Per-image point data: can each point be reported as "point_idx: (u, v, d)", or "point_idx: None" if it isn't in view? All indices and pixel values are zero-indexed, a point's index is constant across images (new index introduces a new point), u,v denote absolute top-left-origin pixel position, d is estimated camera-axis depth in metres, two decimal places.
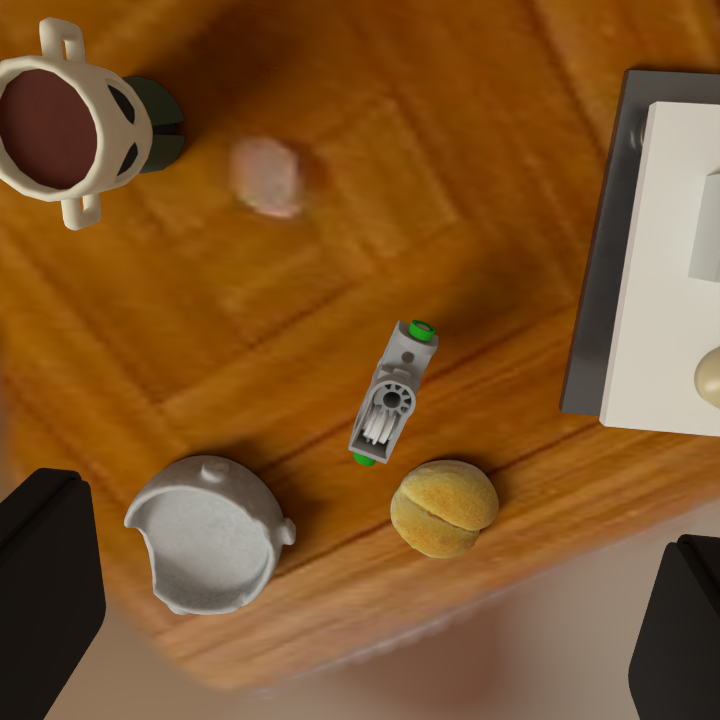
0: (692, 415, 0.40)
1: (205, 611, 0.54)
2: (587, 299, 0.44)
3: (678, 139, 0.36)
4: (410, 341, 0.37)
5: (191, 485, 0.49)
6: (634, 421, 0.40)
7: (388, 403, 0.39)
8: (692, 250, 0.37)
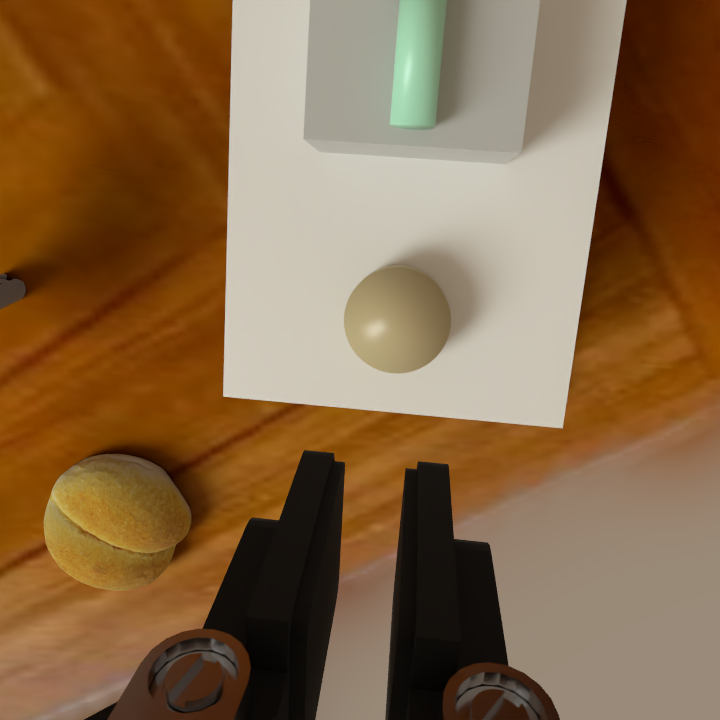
0: (352, 379, 0.25)
1: None
2: None
3: None
4: None
5: None
6: (266, 389, 0.25)
7: None
8: None
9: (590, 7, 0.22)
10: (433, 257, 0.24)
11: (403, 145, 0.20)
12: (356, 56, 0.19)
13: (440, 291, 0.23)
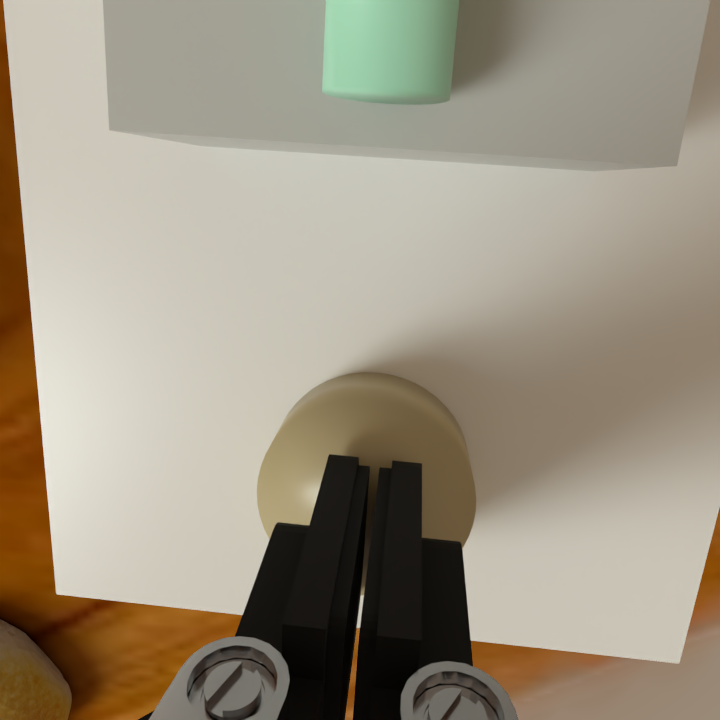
0: None
1: None
2: None
3: None
4: None
5: None
6: (132, 584, 0.14)
7: None
8: None
9: None
10: (439, 359, 0.12)
11: (365, 146, 0.08)
12: None
13: (455, 447, 0.11)
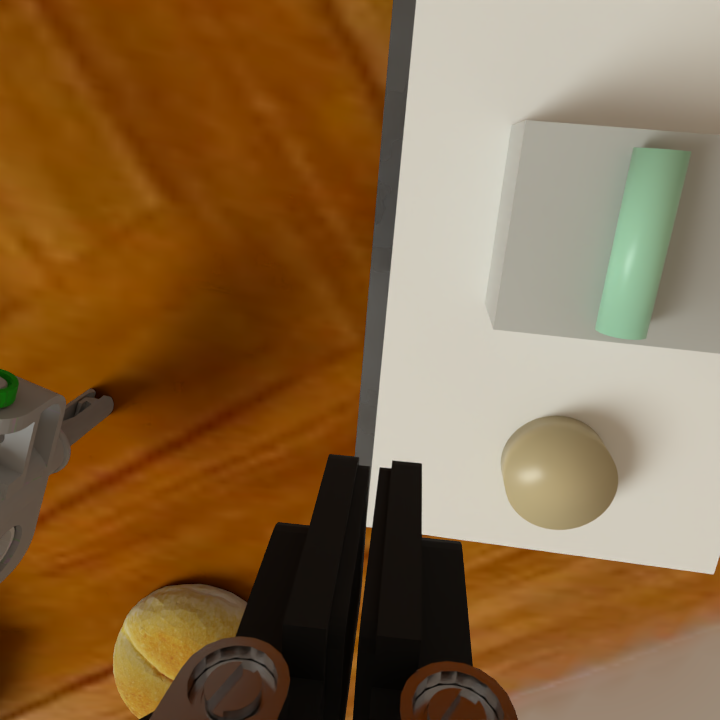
0: (499, 518, 0.25)
1: None
2: (370, 339, 0.27)
3: (460, 55, 0.20)
4: None
5: None
6: None
7: None
8: (492, 259, 0.22)
9: None
10: (597, 410, 0.23)
11: (601, 339, 0.19)
12: (560, 250, 0.18)
13: (610, 457, 0.22)
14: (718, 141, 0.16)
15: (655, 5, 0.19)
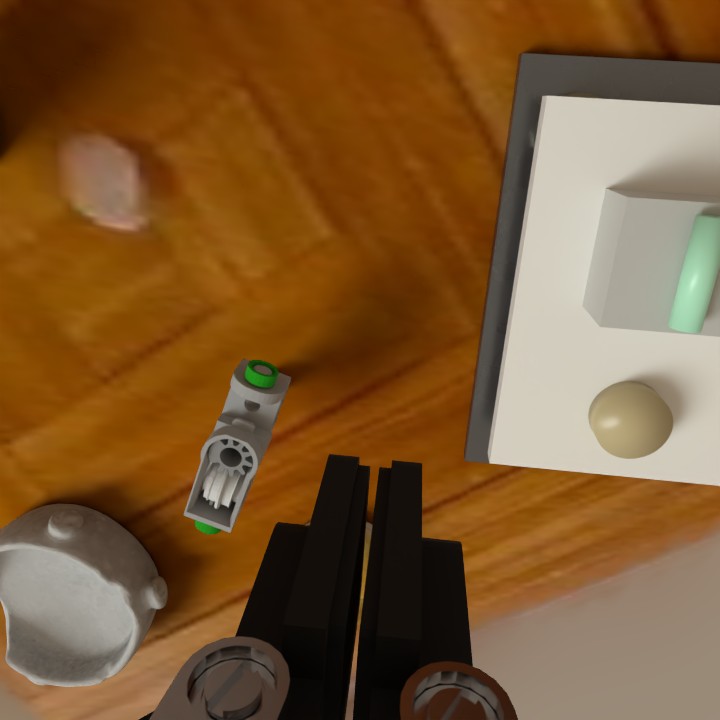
0: (586, 453, 0.35)
1: (65, 683, 0.47)
2: (487, 330, 0.37)
3: (572, 143, 0.29)
4: (244, 388, 0.30)
5: (33, 543, 0.42)
6: (522, 459, 0.36)
7: (229, 460, 0.32)
8: (588, 276, 0.32)
9: None
10: (657, 376, 0.33)
11: (669, 331, 0.29)
12: (646, 276, 0.28)
13: (668, 408, 0.32)
14: None
15: (704, 111, 0.28)
